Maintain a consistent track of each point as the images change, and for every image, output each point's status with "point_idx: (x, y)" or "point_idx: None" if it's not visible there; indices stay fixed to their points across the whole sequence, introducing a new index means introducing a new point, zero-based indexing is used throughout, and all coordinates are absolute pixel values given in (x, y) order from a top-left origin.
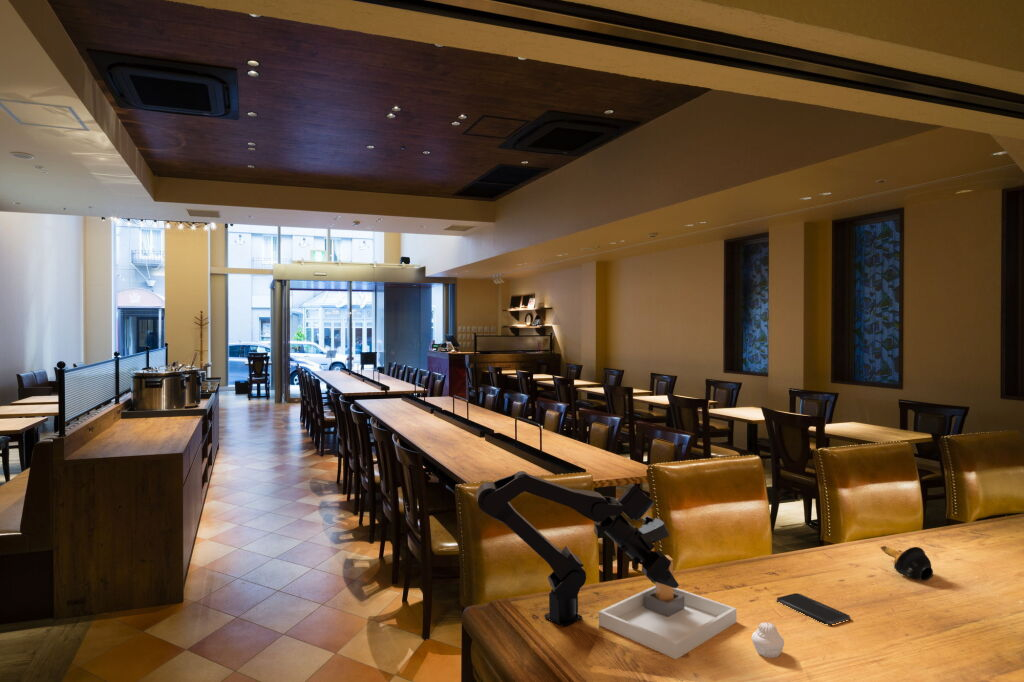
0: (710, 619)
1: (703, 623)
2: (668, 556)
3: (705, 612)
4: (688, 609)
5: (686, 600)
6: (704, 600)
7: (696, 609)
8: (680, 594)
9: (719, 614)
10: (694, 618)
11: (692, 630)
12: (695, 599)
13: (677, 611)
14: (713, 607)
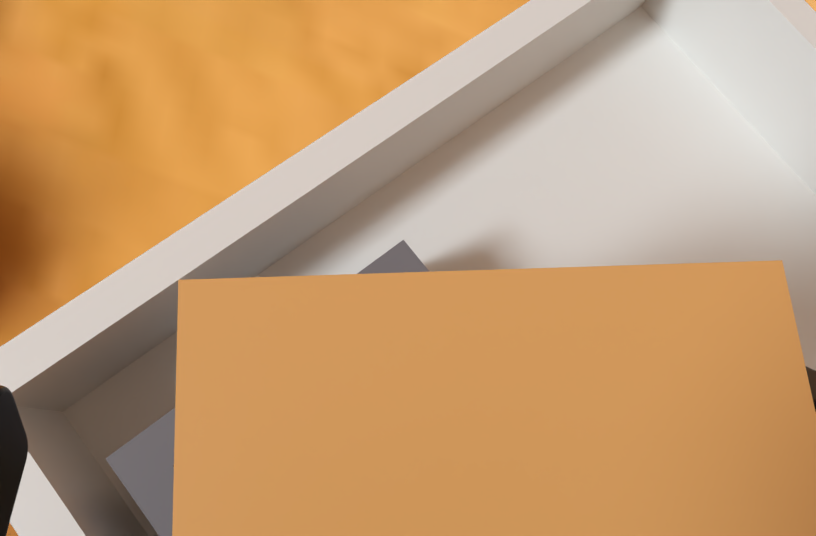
0: (606, 138)
1: (682, 222)
2: (390, 325)
3: (479, 125)
4: (409, 246)
5: (320, 215)
6: (495, 72)
7: (412, 175)
8: (253, 243)
9: (577, 42)
10: (592, 261)
11: (808, 360)
12: (409, 138)
13: None
14: (553, 45)
